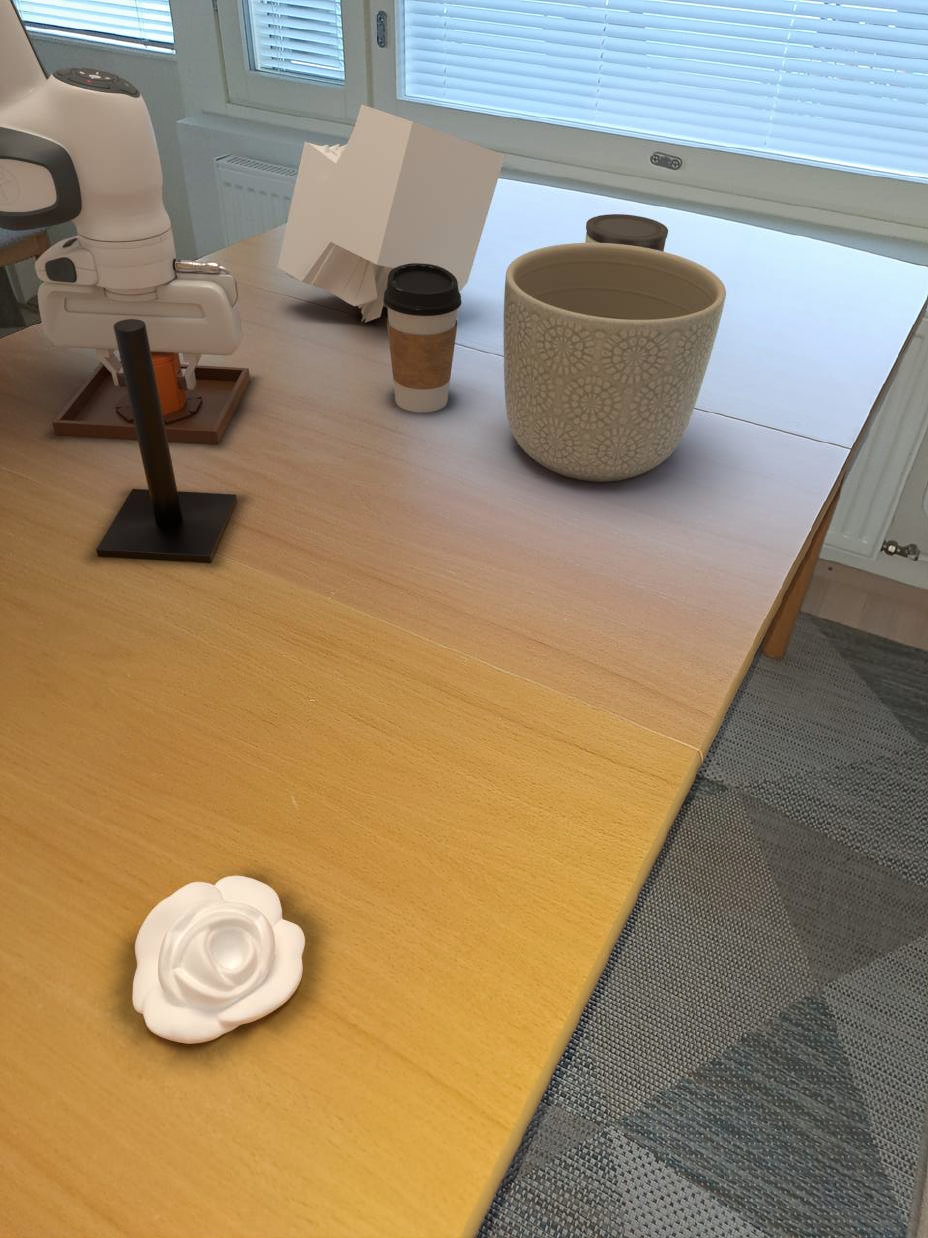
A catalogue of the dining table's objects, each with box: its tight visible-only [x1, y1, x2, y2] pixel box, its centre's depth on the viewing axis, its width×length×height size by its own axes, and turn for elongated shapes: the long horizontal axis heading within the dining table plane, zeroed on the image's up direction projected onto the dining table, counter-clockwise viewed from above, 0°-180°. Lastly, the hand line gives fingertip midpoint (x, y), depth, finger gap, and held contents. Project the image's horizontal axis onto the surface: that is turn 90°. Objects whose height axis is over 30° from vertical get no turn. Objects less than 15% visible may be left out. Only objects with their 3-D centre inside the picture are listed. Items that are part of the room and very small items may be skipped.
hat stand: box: [95, 319, 238, 564], centre depth 78 cm, size 10×10×20 cm
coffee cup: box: [383, 263, 463, 414], centre depth 101 cm, size 8×8×15 cm
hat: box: [116, 352, 202, 425], centre depth 100 cm, size 9×9×7 cm
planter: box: [503, 242, 727, 483], centre depth 93 cm, size 21×21×19 cm
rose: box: [131, 875, 306, 1045], centre depth 51 cm, size 10×4×10 cm
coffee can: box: [584, 213, 669, 252], centre depth 119 cm, size 10×10×14 cm
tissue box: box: [276, 104, 506, 323], centre depth 119 cm, size 20×16×25 cm
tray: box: [51, 360, 251, 446], centre depth 101 cm, size 17×15×2 cm
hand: (155, 385), depth 100 cm, fingers closed on hat, 6 cm apart
